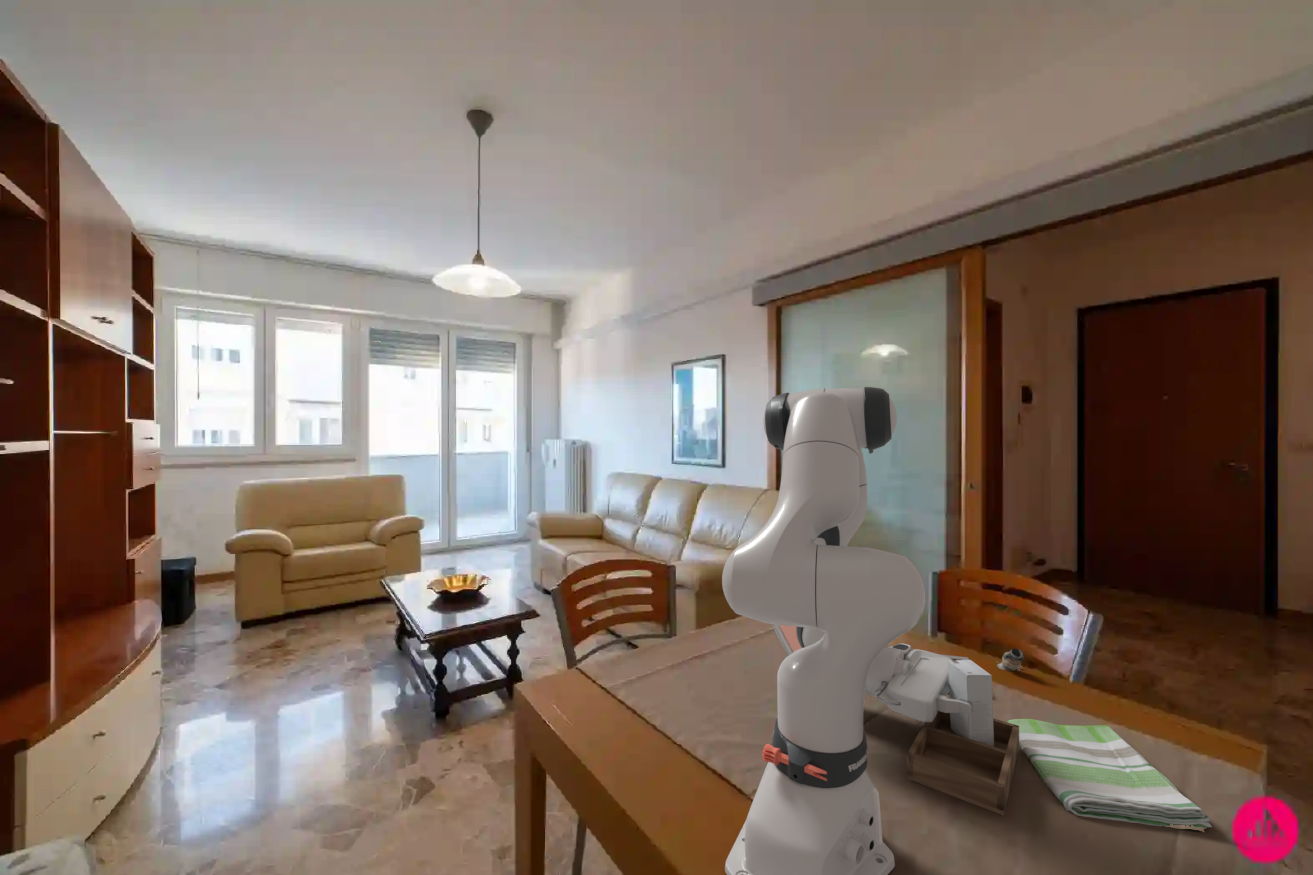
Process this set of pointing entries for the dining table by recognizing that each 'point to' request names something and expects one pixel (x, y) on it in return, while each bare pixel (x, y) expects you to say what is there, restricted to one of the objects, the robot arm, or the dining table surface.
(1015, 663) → the vase
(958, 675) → the skincare box
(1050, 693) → the dining table surface
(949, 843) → the dining table surface
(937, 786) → the walnut slot rack
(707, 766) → the dining table surface
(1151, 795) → the dish towel
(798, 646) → the notebook
